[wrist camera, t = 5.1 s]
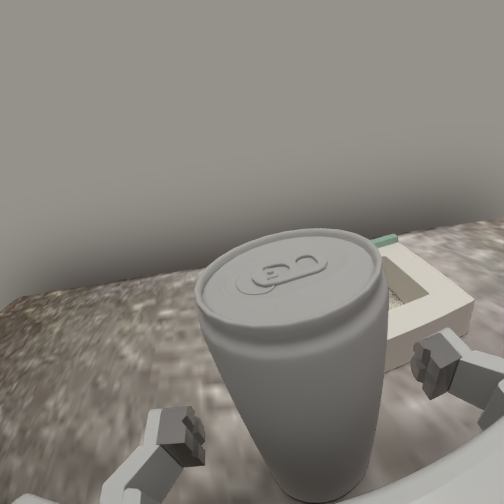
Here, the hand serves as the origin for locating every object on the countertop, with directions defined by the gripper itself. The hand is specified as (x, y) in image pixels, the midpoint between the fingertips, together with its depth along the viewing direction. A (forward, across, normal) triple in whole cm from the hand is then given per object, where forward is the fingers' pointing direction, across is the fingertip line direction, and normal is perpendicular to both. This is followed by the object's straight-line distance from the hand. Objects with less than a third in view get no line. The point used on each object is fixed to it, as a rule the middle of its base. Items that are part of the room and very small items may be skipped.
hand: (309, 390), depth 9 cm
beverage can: (0, 0, +7) cm, 7 cm away
